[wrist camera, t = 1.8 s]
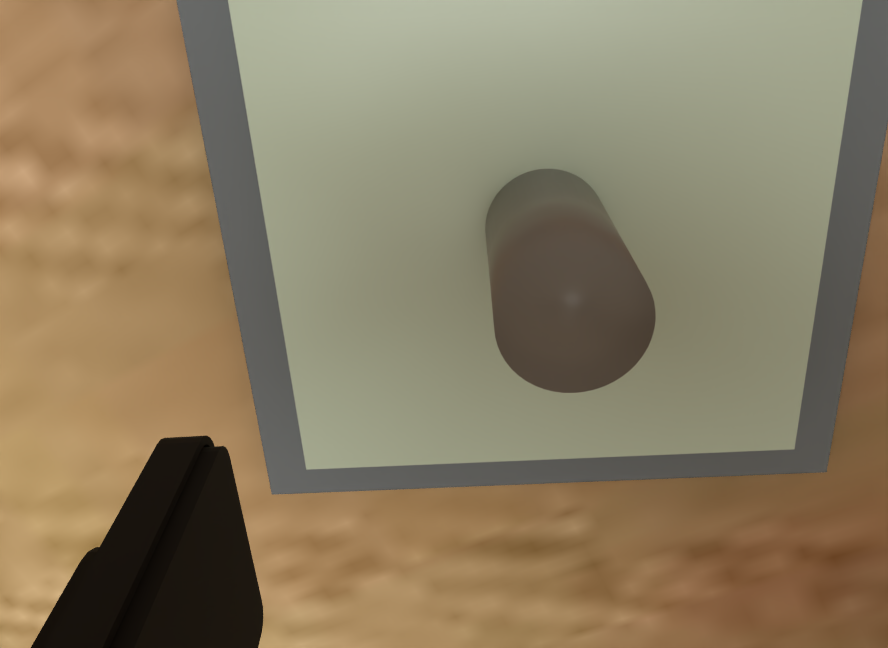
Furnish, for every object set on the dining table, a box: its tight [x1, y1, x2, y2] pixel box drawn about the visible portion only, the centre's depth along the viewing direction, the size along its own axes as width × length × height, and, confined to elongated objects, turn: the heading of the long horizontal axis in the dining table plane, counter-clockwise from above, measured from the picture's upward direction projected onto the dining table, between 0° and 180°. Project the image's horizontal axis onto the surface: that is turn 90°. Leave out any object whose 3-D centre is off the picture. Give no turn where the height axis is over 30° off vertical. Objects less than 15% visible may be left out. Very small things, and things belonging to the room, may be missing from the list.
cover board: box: [228, 0, 863, 470], centre depth 19 cm, size 15×15×7 cm
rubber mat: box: [177, 0, 888, 494], centre depth 22 cm, size 18×18×1 cm
